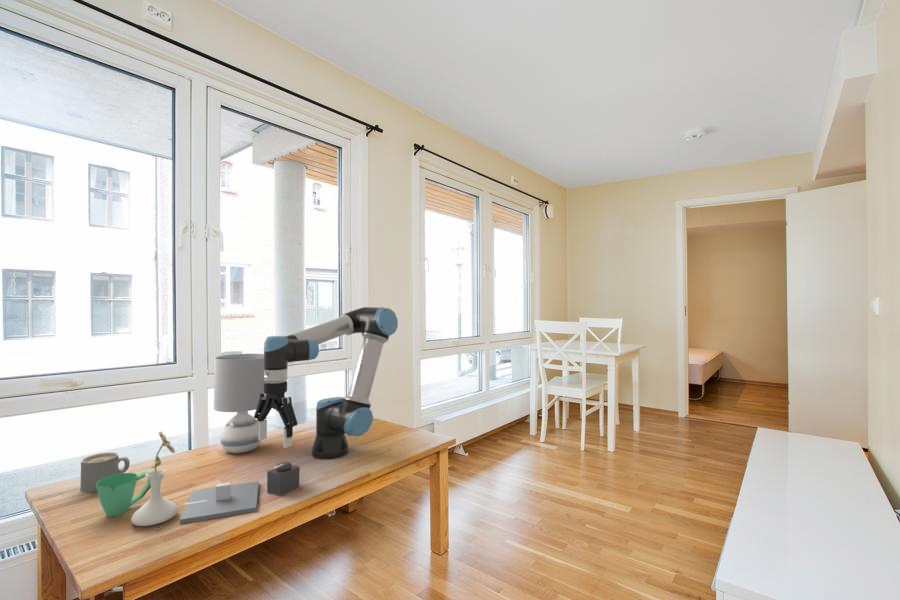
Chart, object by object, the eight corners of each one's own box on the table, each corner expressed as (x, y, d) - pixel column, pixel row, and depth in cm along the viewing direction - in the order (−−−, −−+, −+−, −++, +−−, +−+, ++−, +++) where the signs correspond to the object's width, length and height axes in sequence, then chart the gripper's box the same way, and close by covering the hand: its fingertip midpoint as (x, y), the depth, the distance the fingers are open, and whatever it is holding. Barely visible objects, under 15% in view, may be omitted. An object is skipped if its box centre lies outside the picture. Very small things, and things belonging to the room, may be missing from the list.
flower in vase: (170, 527, 118) (171, 439, 119) (123, 533, 115) (124, 442, 115) (185, 505, 131) (186, 425, 131) (143, 510, 128) (144, 428, 128)
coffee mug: (82, 495, 137) (82, 465, 137) (78, 486, 144) (79, 457, 144) (132, 483, 147) (133, 454, 147) (127, 475, 153) (127, 447, 153)
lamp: (233, 463, 166) (234, 361, 166) (202, 452, 176) (203, 357, 176) (279, 447, 184) (280, 355, 184) (249, 438, 195) (250, 352, 195)
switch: (258, 484, 146) (258, 468, 146) (256, 511, 128) (256, 492, 128) (190, 494, 139) (191, 477, 139) (177, 524, 120) (177, 504, 120)
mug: (104, 524, 120) (105, 489, 120) (89, 515, 125) (90, 481, 125) (160, 503, 132) (161, 471, 133) (144, 495, 137) (145, 465, 137)
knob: (286, 482, 148) (287, 458, 148) (299, 486, 145) (299, 461, 145) (267, 492, 141) (267, 466, 141) (280, 496, 138) (280, 469, 138)
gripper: (243, 379, 147) (243, 439, 147) (289, 387, 134) (289, 453, 134) (263, 375, 153) (262, 433, 153) (308, 383, 140) (308, 446, 140)
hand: (274, 443), depth 143 cm, fingers open, 13 cm apart
